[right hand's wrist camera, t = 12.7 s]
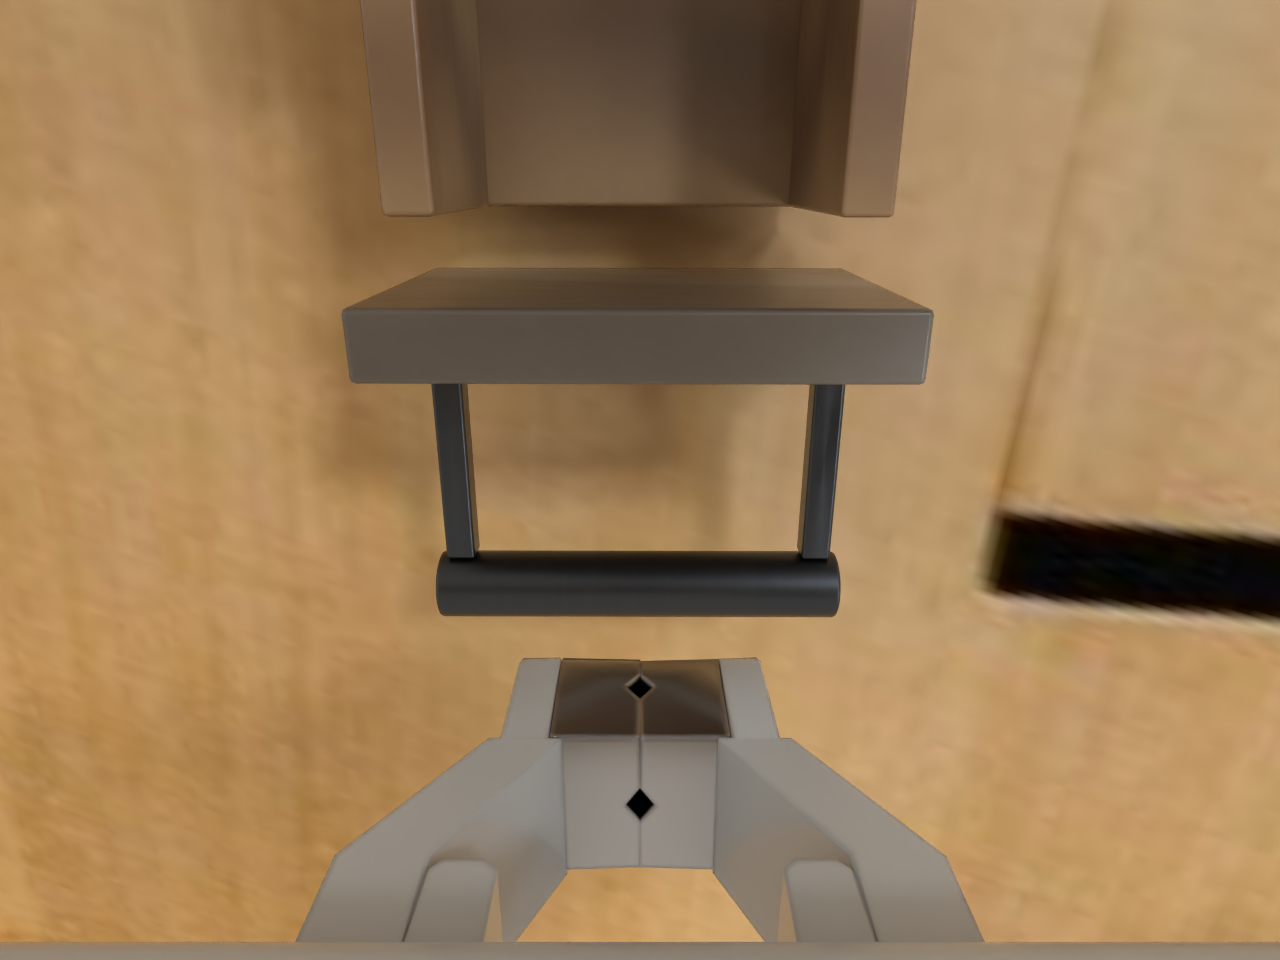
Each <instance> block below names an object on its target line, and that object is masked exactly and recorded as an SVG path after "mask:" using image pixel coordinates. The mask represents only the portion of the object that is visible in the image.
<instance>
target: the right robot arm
mask: <svg viewBox="0 0 1280 960" xmlns="http://www.w3.org/2000/svg"><path fill="white" fill-rule="evenodd" d="M628 867H650V868H685V869H713V874H714V875H715V876H716V878H717V879H718V880H719V882H720V883H721V884H722V886H723V887H724V888H725V889H726V891H727V892H728V893H729V895H730V896H731V897H732V899H733V900H734V901H735V903H736V904H737V905H738V907H739V908H740V909H741V911H742V912H743V913H744V915H745V916H746V917H747V919H748V920H749V921H750V923H751V924H752V925H753V927H754V928H755V929H756V931H757V932H758V933H759V935H760V936H761V937H762V939H763V940H764V941H765V942H516V941H517V939H518V938H519V937H520V935H521V934H522V933H523V931H524V930H525V929H526V927H527V926H528V925H529V923H530V922H531V921H532V919H533V918H534V917H535V915H536V914H537V913H538V911H539V910H540V909H541V907H542V906H543V905H544V904H545V902H546V901H547V900H548V898H549V897H550V896H551V894H552V893H553V892H554V890H555V889H556V888H557V886H558V885H559V884H560V882H561V881H562V880H563V878H564V877H565V876H566V874H567V869H594V868H628ZM0 960H1280V942H985V941H984V939H983V937H982V935H981V933H980V930H979V928H978V926H977V924H976V921H975V919H974V917H973V915H972V913H971V910H970V908H969V906H968V904H967V902H966V899H965V897H964V895H963V893H962V890H961V888H960V886H959V884H958V882H957V879H956V877H955V875H954V873H953V870H952V868H951V866H950V864H949V862H948V859H947V857H946V856H945V855H944V854H942V853H941V852H940V851H938V850H937V849H936V848H934V847H933V846H932V845H931V844H929V843H928V842H927V841H925V840H924V839H923V838H921V837H920V836H919V835H917V834H916V833H915V832H914V831H912V830H911V829H910V828H908V827H907V826H906V825H904V824H903V823H902V822H900V821H899V820H898V819H897V818H895V817H894V816H893V815H891V814H890V813H889V812H887V811H886V810H885V809H883V808H882V807H881V806H880V805H878V804H877V803H876V802H874V801H873V800H872V799H870V798H869V797H868V796H866V795H865V794H864V793H863V792H861V791H860V790H859V789H857V788H856V787H855V786H853V785H852V784H851V783H849V782H848V781H847V780H846V779H844V778H843V777H842V776H840V775H839V774H838V773H836V772H835V771H834V770H832V769H831V768H830V767H829V766H827V765H826V764H825V763H823V762H822V761H821V760H819V759H818V758H817V757H815V756H814V755H813V754H812V753H810V752H809V751H808V750H806V749H805V748H804V747H802V746H801V745H800V744H798V743H797V742H796V741H795V740H793V739H792V738H780V737H779V733H778V729H777V725H776V721H775V717H774V713H773V709H772V705H771V702H770V698H769V694H768V690H767V686H766V682H765V678H764V674H763V670H762V666H761V662H760V661H759V660H758V659H757V658H756V657H754V658H728V659H705V660H664V661H640V660H625V659H576V658H563V660H562V659H560V658H523V659H522V661H521V662H520V663H519V665H518V669H517V673H516V677H515V681H514V685H513V689H512V693H511V697H510V701H509V705H508V709H507V713H506V717H505V721H504V725H503V729H502V733H501V737H500V738H488V739H487V740H486V741H484V742H483V743H482V744H480V745H479V746H478V747H476V748H475V749H474V750H472V751H471V752H470V753H468V754H467V755H466V756H465V757H463V758H462V759H461V760H459V761H458V762H457V763H455V764H454V765H453V766H451V767H450V768H449V769H447V770H446V771H445V772H443V773H442V774H441V775H440V776H438V777H437V778H436V779H434V780H433V781H432V782H430V783H429V784H428V785H426V786H425V787H424V788H422V789H421V790H420V791H419V792H417V793H416V794H415V795H413V796H412V797H411V798H409V799H408V800H407V801H405V802H404V803H403V804H401V805H400V806H399V807H397V808H396V809H395V810H394V811H392V812H391V813H390V814H388V815H387V816H386V817H384V818H383V819H382V820H380V821H379V822H378V823H376V824H375V825H374V826H373V827H371V828H370V829H369V830H367V831H366V832H365V833H363V834H362V835H361V836H359V837H358V838H357V839H355V840H354V841H353V842H351V843H350V844H349V845H348V846H346V847H345V848H344V849H342V850H341V851H340V852H338V853H337V854H336V855H335V856H334V858H333V860H332V863H331V865H330V867H329V869H328V871H327V874H326V876H325V878H324V880H323V882H322V884H321V887H320V889H319V891H318V893H317V895H316V898H315V900H314V902H313V904H312V906H311V908H310V911H309V913H308V915H307V917H306V919H305V922H304V924H303V926H302V928H301V930H300V933H299V935H298V937H297V939H296V941H295V942H0Z"/></svg>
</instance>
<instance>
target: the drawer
mask: <svg viewBox="0 0 1280 960" xmlns="http://www.w3.org/2000/svg"><path fill="white" fill-rule="evenodd" d="M360 7H361V17H362V26H363V35H364V45H365V54H366V64H367V73H368V83H369V92H370V102H371V111H372V121H373V130H374V139H375V149H376V158H377V168H378V177H379V187H380V196H381V206H382V211H383V213H384V215H387V216H435V215H440V214H446V213H451V212H457V211H462V210H468V209H473V208H479V207H484V206H718V207H795V208H800V209H805V210H811V211H816V212H821V213H826V214H831V215H836V216H841V217H891V216H892V215H893V213H894V207H895V197H896V188H897V178H898V169H899V160H900V150H901V141H902V131H903V122H904V113H905V103H906V94H907V85H908V75H909V66H910V56H911V47H912V38H913V28H914V19H915V10H916V0H360ZM933 317H934V314H933V311H932V310H930V309H928V308H926V307H924V306H922V305H919V304H917V303H915V302H913V301H911V300H908V299H906V298H904V297H902V296H900V295H898V294H895V293H893V292H891V291H889V290H887V289H884V288H882V287H880V286H878V285H876V284H874V283H871V282H869V281H867V280H865V279H863V278H860V277H858V276H856V275H854V274H852V273H850V272H847V271H845V270H843V269H811V268H436V269H434V270H431V271H429V272H427V273H425V274H422V275H420V276H418V277H416V278H413V279H411V280H409V281H406V282H404V283H402V284H400V285H397V286H395V287H393V288H391V289H388V290H386V291H384V292H381V293H379V294H377V295H375V296H372V297H370V298H368V299H366V300H363V301H361V302H359V303H357V304H354V305H352V306H350V307H347V308H345V309H343V311H342V321H343V328H344V336H345V344H346V352H347V360H348V367H349V375H350V379H351V382H354V383H357V384H432V395H433V406H434V417H435V428H436V439H437V450H438V461H439V472H440V482H441V493H442V504H443V515H444V526H445V537H446V548H447V551H445V552H443V553H442V555H441V557H440V560H439V563H438V568H437V575H436V598H437V605H438V608H439V611H440V613H441V614H442V615H444V616H592V617H833V616H835V615H836V613H837V610H838V607H839V602H840V572H839V566H838V562H837V559H836V557H835V555H834V553H832V552H830V544H831V533H832V523H833V512H834V501H835V490H836V480H837V469H838V458H839V447H840V437H841V426H842V415H843V405H844V394H845V385H919V384H922V383H924V381H925V379H926V371H927V364H928V356H929V348H930V340H931V333H932V325H933ZM467 384H810V387H809V400H808V413H807V426H806V439H805V452H804V465H803V478H802V491H801V504H800V517H799V530H798V543H797V548H798V550H799V551H478V549H479V533H478V520H477V507H476V494H475V480H474V467H473V454H472V441H471V428H470V415H469V401H468V388H467Z"/></svg>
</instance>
